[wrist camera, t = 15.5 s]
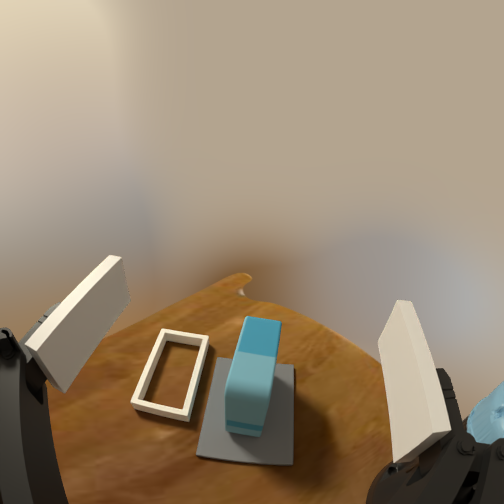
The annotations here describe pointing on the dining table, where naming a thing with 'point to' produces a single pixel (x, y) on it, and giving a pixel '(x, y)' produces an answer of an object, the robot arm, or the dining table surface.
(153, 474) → the dining table surface
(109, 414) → the dining table surface
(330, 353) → the dining table surface
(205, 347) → the cradle
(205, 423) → the mat
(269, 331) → the blue rounded block
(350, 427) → the dining table surface
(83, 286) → the robot arm
